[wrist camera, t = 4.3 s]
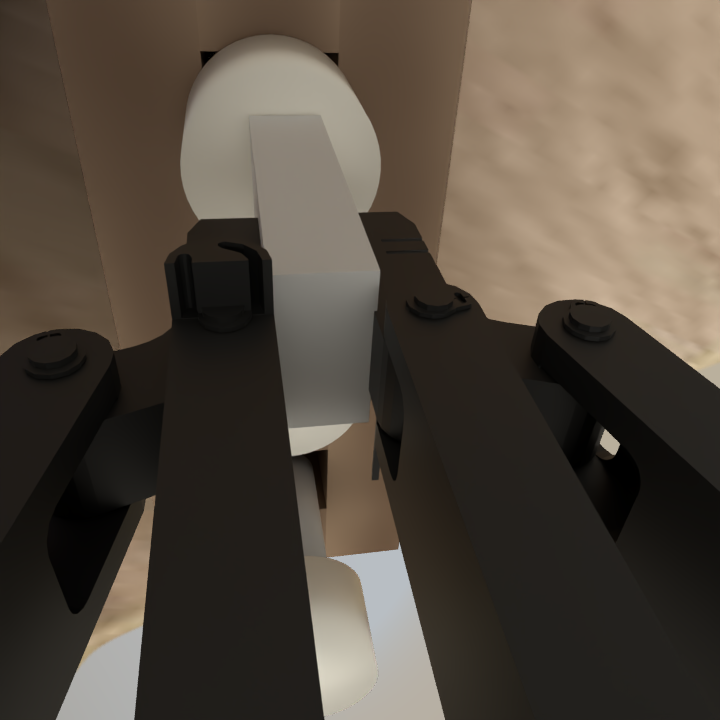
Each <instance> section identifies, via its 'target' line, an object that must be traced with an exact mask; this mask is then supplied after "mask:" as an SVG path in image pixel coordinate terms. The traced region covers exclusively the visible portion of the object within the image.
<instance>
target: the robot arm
mask: <svg viewBox="0 0 720 720" xmlns="http://www.w3.org/2000/svg"><path fill="white" fill-rule="evenodd" d="M249 129H250V147H251V166H252V185H253V204H254V218H223V219H200V220H199V221H198V222H197V223H196V224H195V226H194V227H193V228H192V229H191V230H190V231H189V232H188V233H187V243H186V244H184V245H181V246H180V247H178V248H177V249H175V250H174V251H172V252H171V253H169V255H168V257H167V259H166V261H165V262H164V269H165V275H166V282H167V289H168V295H169V302H170V309H171V315H172V326H171V328H170V329H169V330H168V331H167V332H165V333H164V334H163V335H161V336H159V337H157V338H155V339H153V340H151V341H149V342H146V343H143V344H139V345H136V346H133V347H129V348H125V349H121V350H117V351H113V349H112V347H111V345H110V342H109V340H107V339H105V338H104V337H102V336H101V335H99V334H97V333H95V332H91V331H86V330H81V329H58V330H51V331H48V332H42V333H39V334H35V335H33V336H31V337H29V338H26V339H24V340H22V341H20V342H18V343H16V344H14V345H13V346H12V347H11V348H9V349H8V350H7V351H6V352H5V353H3V354H2V355H1V356H0V720H56V718H57V715H58V713H59V711H60V708H61V706H62V704H63V701H64V699H65V696H66V694H67V692H68V689H69V687H70V685H71V682H72V680H73V677H74V675H75V673H76V670H77V668H78V666H79V663H80V661H81V658H82V656H83V654H84V651H85V649H86V647H87V644H88V642H89V639H90V637H91V635H92V632H93V630H94V628H95V625H96V623H97V621H98V618H99V616H100V613H101V611H102V609H103V606H104V604H105V602H106V599H107V597H108V594H109V592H110V590H111V587H112V585H113V583H114V580H115V578H116V575H117V573H118V571H119V568H120V566H121V564H122V561H123V559H124V556H125V554H126V552H127V549H128V547H129V545H130V542H131V540H132V537H133V535H134V533H135V530H136V528H137V526H138V523H139V521H140V518H141V516H142V514H143V511H144V506H145V500H146V498H149V497H152V496H155V495H156V496H155V506H154V517H153V528H152V538H151V549H150V559H149V570H148V581H147V591H146V602H145V612H144V623H143V635H142V644H141V656H140V665H139V676H138V687H137V698H136V709H135V718H134V720H324V712H323V704H322V696H321V688H320V680H319V672H318V664H317V656H316V648H315V640H314V632H313V624H312V616H311V608H310V600H309V592H308V584H307V576H306V567H305V559H304V551H303V543H302V535H301V527H300V519H299V511H298V503H297V495H296V487H295V479H294V471H293V463H292V455H291V447H290V439H289V430H288V429H289V428H302V427H314V426H326V425H339V424H351V423H364V422H369V413H370V400H372V404H373V407H374V411H375V415H376V426H375V438H374V450H373V462H372V480H379V471H380V468H381V472H382V476H383V480H384V484H385V488H386V492H387V496H388V499H389V503H390V507H391V511H392V515H393V519H394V523H395V527H396V530H397V534H398V538H399V542H400V546H401V549H402V554H403V557H404V561H405V565H406V569H407V573H408V577H409V581H410V585H411V589H412V592H413V596H414V600H415V604H416V608H417V612H418V616H419V620H420V624H421V627H422V631H423V635H424V639H425V643H426V647H427V650H428V654H429V658H430V662H431V666H432V670H433V674H434V678H435V682H436V686H437V689H438V693H439V697H440V701H441V705H442V709H443V713H444V717H445V720H720V389H719V388H718V387H717V386H716V385H714V384H713V383H711V382H710V381H709V380H708V379H706V378H705V377H704V376H702V375H701V374H700V373H699V372H697V371H696V370H695V369H693V368H692V367H691V366H689V365H688V364H687V363H686V362H684V361H683V360H682V359H680V358H679V357H678V356H676V355H675V354H674V353H672V352H671V351H670V350H669V349H667V348H666V347H665V346H663V345H662V344H661V343H659V342H658V341H657V340H655V339H654V338H653V337H652V336H650V335H649V334H648V333H646V332H645V331H644V330H642V329H641V328H640V327H639V326H637V325H636V324H635V323H633V322H632V321H631V320H629V319H628V318H627V317H625V316H624V315H622V314H620V313H618V312H617V311H615V310H613V309H612V308H609V307H606V306H603V305H600V304H598V303H596V302H593V301H587V300H585V301H583V300H576V299H575V300H562V301H556V302H554V303H551V304H549V305H546V306H545V307H544V308H543V309H542V310H541V312H540V313H539V315H538V319H537V323H536V327H535V326H528V325H521V324H513V323H506V322H501V321H496V320H491V319H488V318H487V317H486V315H485V314H484V312H483V310H482V308H481V307H480V305H479V303H478V302H477V301H476V300H475V299H474V298H473V297H472V296H471V295H470V294H469V293H467V292H465V291H464V290H462V289H460V288H458V287H456V286H452V285H448V284H446V282H445V280H444V278H443V277H442V275H441V273H440V271H439V269H438V267H437V265H436V263H435V261H434V259H433V257H432V256H431V254H430V253H428V248H427V246H426V244H425V242H424V241H422V236H421V235H420V233H419V231H418V229H417V227H416V225H415V223H413V222H412V221H410V220H409V219H407V218H406V217H404V216H403V215H402V214H400V213H399V212H361V213H358V211H357V208H356V206H355V203H354V201H353V198H352V195H351V193H350V190H349V188H348V185H347V182H346V180H345V177H344V175H343V172H342V169H341V167H340V164H339V162H338V159H337V156H336V154H335V151H334V149H333V146H332V143H331V141H330V138H329V136H328V133H327V130H326V128H325V125H324V123H323V120H322V117H321V115H269V116H249ZM604 429H606V430H607V431H608V432H609V433H610V434H611V435H612V436H613V437H614V438H615V439H616V440H617V441H618V442H619V443H620V446H619V449H618V451H617V453H616V455H612V454H610V453H609V452H608V451H607V450H605V449H604V448H603V447H602V446H601V445H600V440H601V438H602V435H603V432H604Z"/></svg>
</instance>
